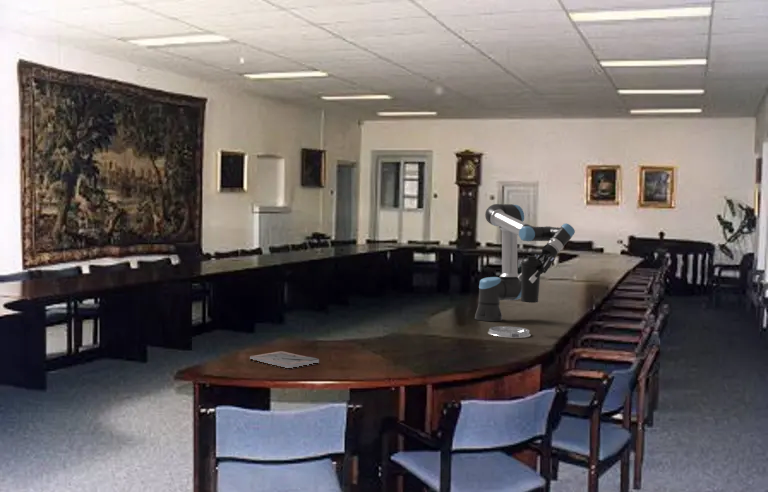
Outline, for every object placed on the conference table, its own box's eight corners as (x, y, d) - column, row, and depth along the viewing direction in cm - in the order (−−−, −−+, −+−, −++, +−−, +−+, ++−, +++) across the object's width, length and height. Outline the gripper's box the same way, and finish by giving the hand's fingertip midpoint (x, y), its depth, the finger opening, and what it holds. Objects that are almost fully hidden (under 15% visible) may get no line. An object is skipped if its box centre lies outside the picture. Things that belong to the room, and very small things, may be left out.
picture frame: (318, 364, 309) (281, 356, 323) (318, 358, 309) (281, 350, 323) (287, 370, 296) (249, 361, 310) (287, 364, 296) (250, 355, 310)
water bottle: (538, 300, 404) (540, 255, 402) (541, 303, 394) (543, 257, 392) (518, 299, 404) (520, 254, 403) (520, 302, 394) (522, 256, 392)
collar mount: (482, 330, 402) (482, 325, 402) (522, 330, 405) (522, 326, 405) (495, 337, 381) (495, 332, 381) (536, 338, 385) (536, 332, 384)
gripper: (535, 242, 411) (508, 273, 405) (561, 244, 392) (534, 277, 386) (543, 252, 414) (516, 283, 408) (569, 255, 395) (542, 287, 389)
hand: (525, 280), depth 397 cm, fingers closed on water bottle, 9 cm apart
